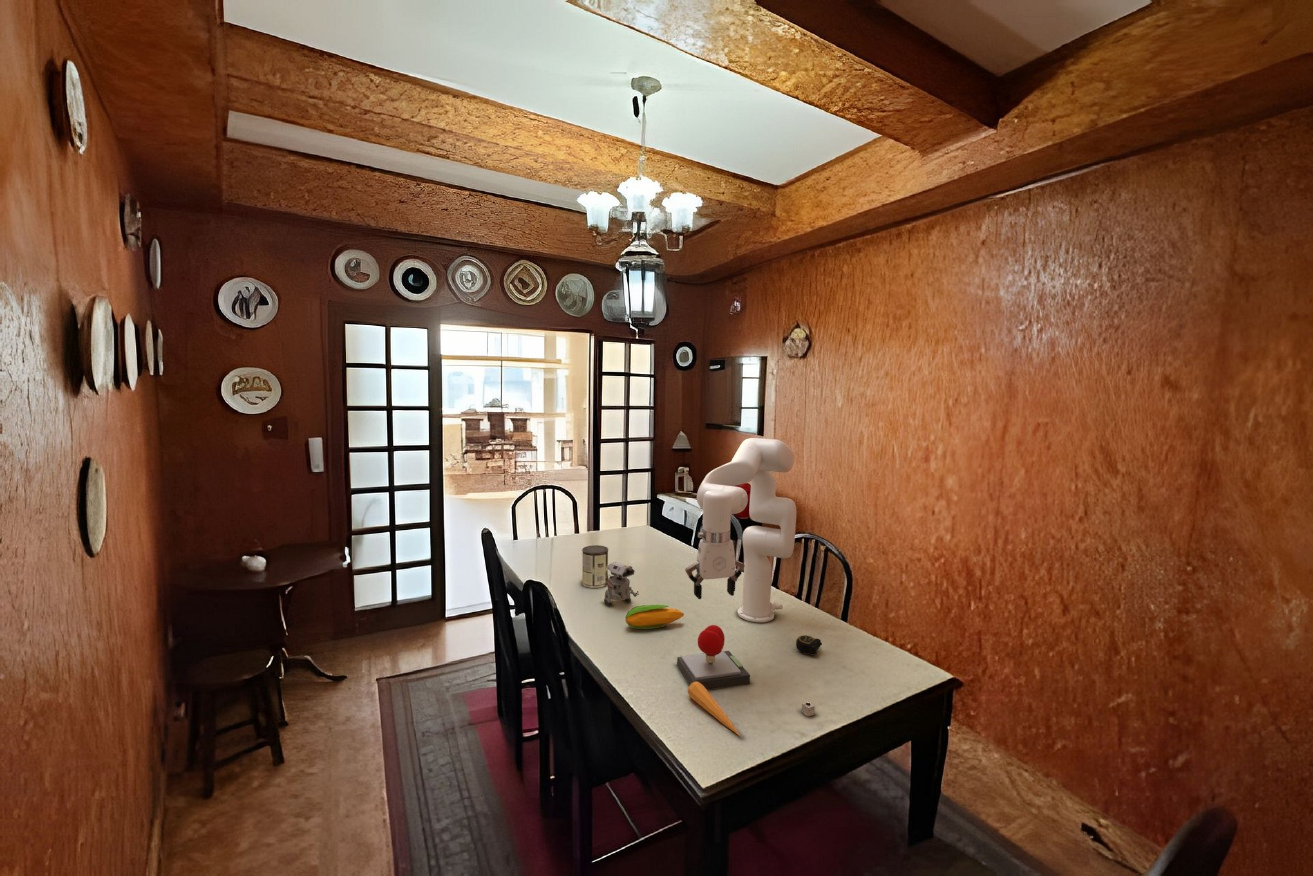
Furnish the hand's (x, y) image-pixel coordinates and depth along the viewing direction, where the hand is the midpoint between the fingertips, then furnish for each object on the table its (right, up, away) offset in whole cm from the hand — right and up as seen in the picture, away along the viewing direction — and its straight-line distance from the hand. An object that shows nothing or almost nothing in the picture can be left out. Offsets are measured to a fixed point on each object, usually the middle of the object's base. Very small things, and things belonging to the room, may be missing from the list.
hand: (714, 595), depth 154 cm
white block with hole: (+21, -24, -17) cm, 37 cm away
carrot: (-2, -24, -19) cm, 31 cm away
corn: (-17, -19, +30) cm, 39 cm away
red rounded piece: (-1, -19, 0) cm, 19 cm away
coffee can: (-41, -14, +67) cm, 80 cm away
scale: (-1, -22, 0) cm, 22 cm away
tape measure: (+31, -21, +15) cm, 40 cm away
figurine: (-29, -17, +47) cm, 57 cm away
